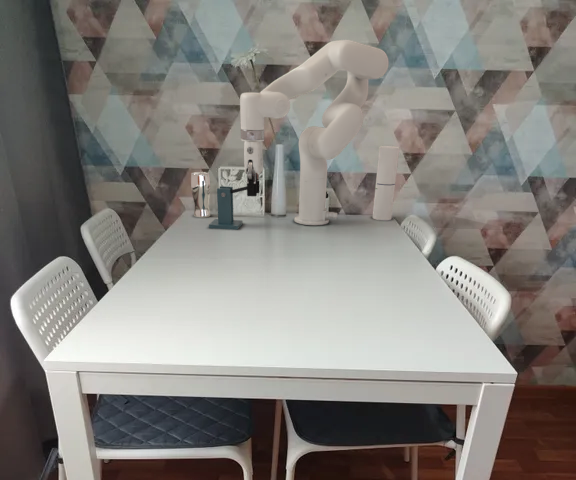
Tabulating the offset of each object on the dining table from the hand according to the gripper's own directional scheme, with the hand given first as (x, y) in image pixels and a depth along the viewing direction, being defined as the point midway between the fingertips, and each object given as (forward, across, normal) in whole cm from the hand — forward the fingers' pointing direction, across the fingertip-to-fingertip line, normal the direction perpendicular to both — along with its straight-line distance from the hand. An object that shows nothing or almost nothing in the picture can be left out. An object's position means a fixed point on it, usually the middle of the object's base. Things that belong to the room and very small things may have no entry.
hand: (253, 193), depth 185 cm
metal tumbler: (+11, +14, +22) cm, 28 cm away
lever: (0, 0, +5) cm, 5 cm away
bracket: (+11, 0, +10) cm, 15 cm away
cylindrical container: (+12, +25, -45) cm, 53 cm away
